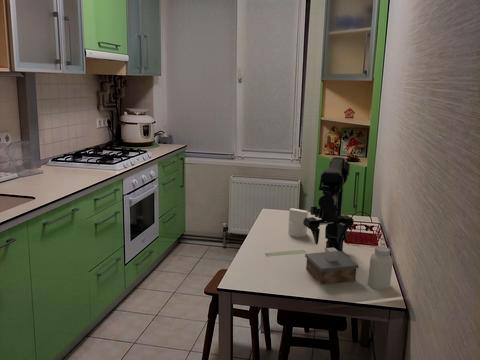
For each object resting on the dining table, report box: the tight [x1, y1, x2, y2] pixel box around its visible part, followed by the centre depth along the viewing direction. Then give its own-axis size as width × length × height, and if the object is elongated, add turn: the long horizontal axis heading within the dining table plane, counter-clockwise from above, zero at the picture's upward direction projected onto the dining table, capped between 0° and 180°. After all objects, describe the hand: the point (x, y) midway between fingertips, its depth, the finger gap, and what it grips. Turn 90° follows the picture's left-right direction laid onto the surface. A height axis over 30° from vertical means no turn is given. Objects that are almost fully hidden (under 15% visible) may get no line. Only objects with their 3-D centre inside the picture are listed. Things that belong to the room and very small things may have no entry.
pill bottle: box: [367, 245, 394, 290], centre depth 172 cm, size 8×8×15 cm
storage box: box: [305, 258, 357, 285], centre depth 181 cm, size 14×14×6 cm
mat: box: [264, 249, 308, 258], centre depth 197 cm, size 18×18×1 cm
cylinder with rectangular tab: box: [287, 207, 309, 238], centre depth 229 cm, size 9×9×12 cm
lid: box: [304, 247, 359, 272], centre depth 179 cm, size 15×15×5 cm
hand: (327, 243), depth 179 cm, fingers open, 9 cm apart
